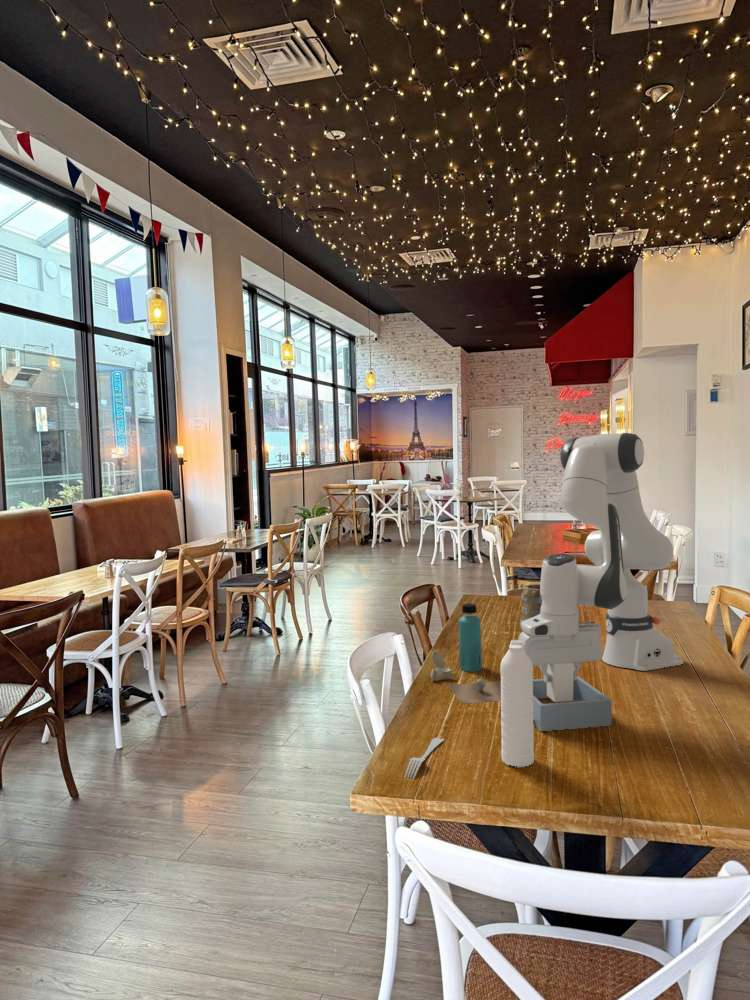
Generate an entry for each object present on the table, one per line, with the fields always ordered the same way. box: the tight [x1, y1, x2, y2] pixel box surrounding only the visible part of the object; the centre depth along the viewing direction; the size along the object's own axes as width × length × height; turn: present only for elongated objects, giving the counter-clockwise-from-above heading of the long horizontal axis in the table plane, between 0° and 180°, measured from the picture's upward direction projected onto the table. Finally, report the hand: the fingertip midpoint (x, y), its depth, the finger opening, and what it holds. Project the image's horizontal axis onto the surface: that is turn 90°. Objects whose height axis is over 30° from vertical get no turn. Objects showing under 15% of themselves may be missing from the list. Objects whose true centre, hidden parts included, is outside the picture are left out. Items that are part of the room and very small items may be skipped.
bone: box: [429, 650, 455, 682], centre depth 187 cm, size 9×6×10 cm
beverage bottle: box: [458, 603, 483, 673], centre depth 193 cm, size 6×7×20 cm
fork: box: [404, 737, 445, 781], centre depth 141 cm, size 3×21×3 cm, turn 157°
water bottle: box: [500, 639, 535, 768], centre depth 137 cm, size 9×6×25 cm
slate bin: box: [533, 675, 612, 732], centre depth 162 cm, size 17×17×6 cm
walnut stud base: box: [447, 678, 501, 705], centre depth 175 cm, size 14×14×5 cm
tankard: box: [519, 583, 542, 625], centre depth 242 cm, size 20×13×15 cm, turn 144°
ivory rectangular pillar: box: [546, 662, 573, 703], centre depth 162 cm, size 5×5×9 cm
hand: (559, 680), depth 162 cm, fingers closed on ivory rectangular pillar, 5 cm apart
